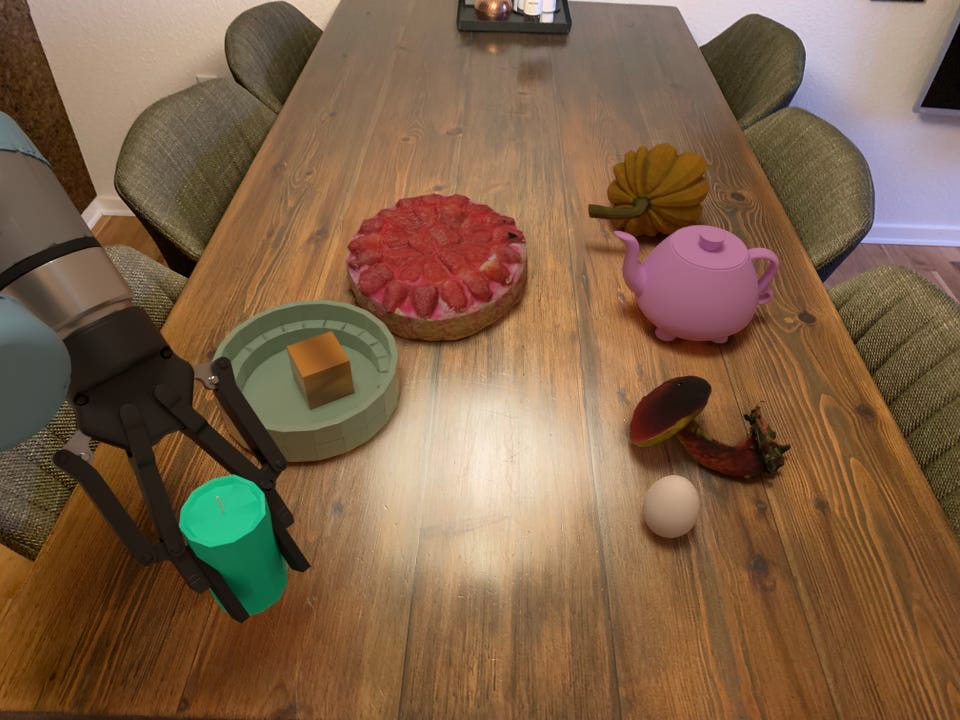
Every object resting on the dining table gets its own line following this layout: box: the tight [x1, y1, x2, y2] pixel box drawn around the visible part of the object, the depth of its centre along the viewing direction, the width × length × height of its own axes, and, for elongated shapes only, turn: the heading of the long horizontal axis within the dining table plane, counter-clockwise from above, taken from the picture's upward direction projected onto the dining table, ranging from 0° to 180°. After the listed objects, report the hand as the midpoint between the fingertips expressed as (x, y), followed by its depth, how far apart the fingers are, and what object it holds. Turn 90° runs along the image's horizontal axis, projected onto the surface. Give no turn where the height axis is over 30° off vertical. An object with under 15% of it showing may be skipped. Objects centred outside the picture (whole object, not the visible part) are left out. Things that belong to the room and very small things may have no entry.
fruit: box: [587, 142, 710, 238], centre depth 105 cm, size 14×16×20 cm
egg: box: [641, 474, 701, 539], centre depth 70 cm, size 5×5×8 cm
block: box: [286, 331, 354, 410], centre depth 82 cm, size 6×6×6 cm
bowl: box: [211, 299, 402, 463], centre depth 82 cm, size 21×21×6 cm
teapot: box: [613, 224, 780, 344], centre depth 91 cm, size 22×16×14 cm
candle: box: [178, 474, 289, 616], centre depth 53 cm, size 6×6×12 cm
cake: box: [345, 192, 529, 342], centre depth 97 cm, size 25×25×8 cm
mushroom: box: [629, 374, 792, 480], centre depth 78 cm, size 12×12×15 cm
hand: (271, 591), depth 54 cm, fingers closed on candle, 5 cm apart
